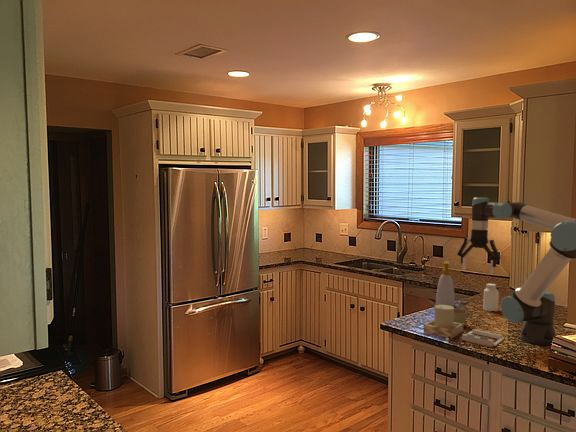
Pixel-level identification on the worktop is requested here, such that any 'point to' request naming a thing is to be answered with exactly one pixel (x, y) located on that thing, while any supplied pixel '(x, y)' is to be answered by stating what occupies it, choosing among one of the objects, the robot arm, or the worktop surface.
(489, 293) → the pill bottle
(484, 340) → the white square frame
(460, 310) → the flower pot
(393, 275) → the worktop surface
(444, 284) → the soap bottle
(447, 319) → the can
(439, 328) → the open box
